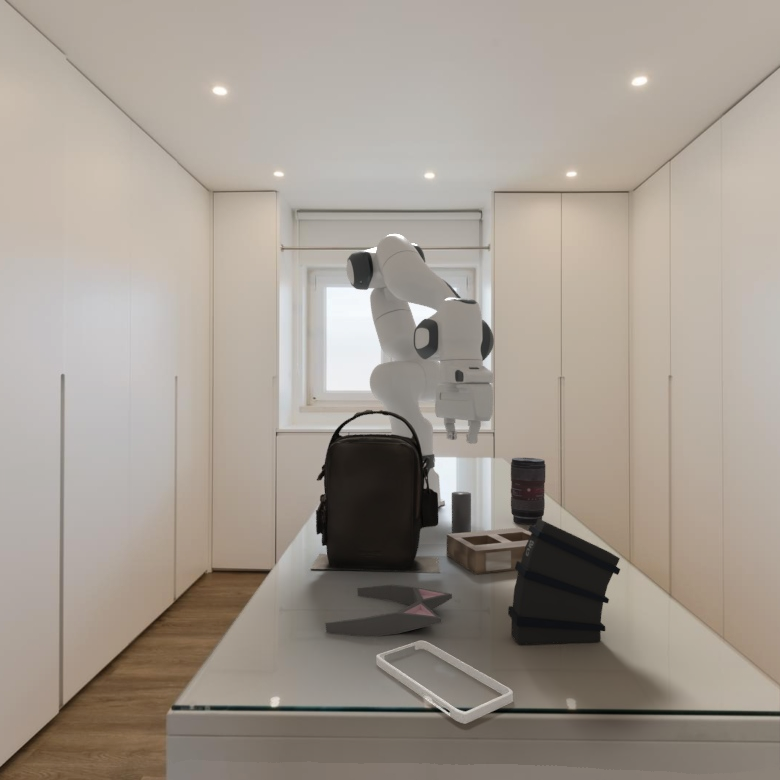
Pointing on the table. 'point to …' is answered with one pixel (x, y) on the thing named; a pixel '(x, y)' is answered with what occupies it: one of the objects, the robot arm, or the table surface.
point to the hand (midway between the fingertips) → (461, 441)
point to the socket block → (488, 549)
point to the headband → (395, 622)
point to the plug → (461, 512)
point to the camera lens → (527, 490)
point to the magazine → (560, 588)
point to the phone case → (421, 690)
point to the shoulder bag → (375, 502)
